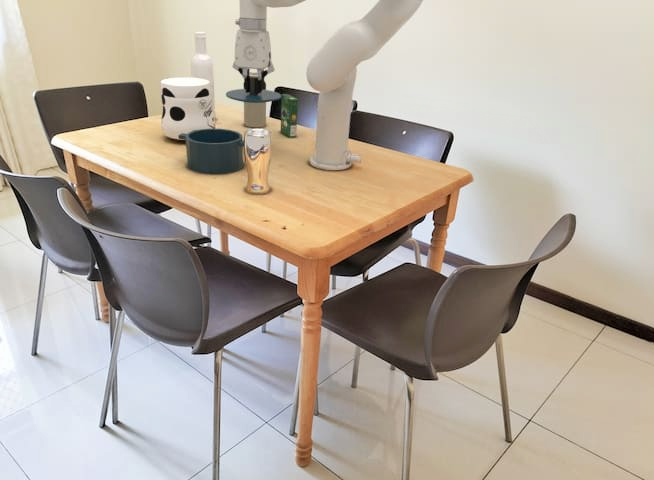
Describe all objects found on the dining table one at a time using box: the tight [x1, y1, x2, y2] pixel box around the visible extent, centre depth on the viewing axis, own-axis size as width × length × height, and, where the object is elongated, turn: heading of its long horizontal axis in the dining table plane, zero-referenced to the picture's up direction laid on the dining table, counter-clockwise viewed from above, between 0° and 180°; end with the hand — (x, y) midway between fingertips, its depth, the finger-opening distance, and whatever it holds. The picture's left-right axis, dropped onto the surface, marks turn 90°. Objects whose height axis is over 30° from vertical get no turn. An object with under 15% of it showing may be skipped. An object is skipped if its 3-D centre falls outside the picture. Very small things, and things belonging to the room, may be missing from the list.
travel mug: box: [243, 71, 267, 129], centre depth 183 cm, size 8×8×18 cm
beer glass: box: [243, 128, 273, 195], centre depth 128 cm, size 7×7×15 cm
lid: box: [225, 76, 282, 103], centre depth 152 cm, size 17×17×6 cm
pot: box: [178, 128, 244, 175], centre depth 145 cm, size 16×21×8 cm
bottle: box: [190, 31, 216, 120], centre depth 184 cm, size 8×8×30 cm
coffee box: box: [280, 93, 299, 138], centre depth 175 cm, size 8×3×13 cm, turn 27°
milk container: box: [160, 76, 216, 143], centre depth 165 cm, size 17×17×18 cm
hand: (253, 92), depth 153 cm, fingers closed on lid, 2 cm apart
